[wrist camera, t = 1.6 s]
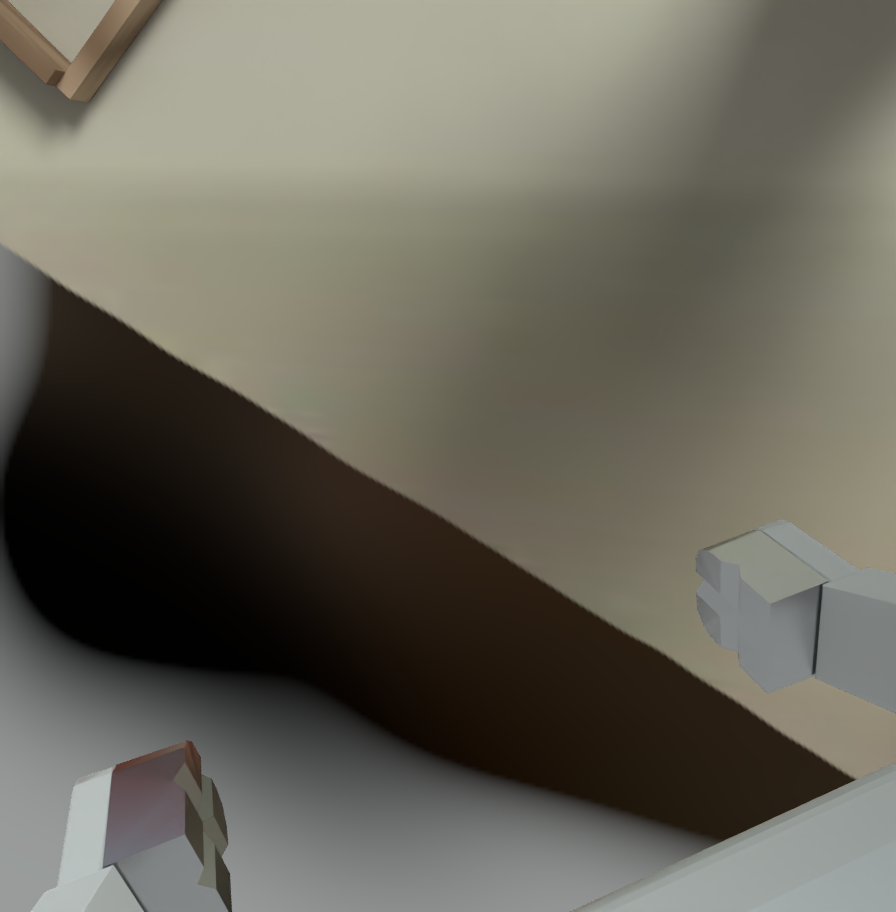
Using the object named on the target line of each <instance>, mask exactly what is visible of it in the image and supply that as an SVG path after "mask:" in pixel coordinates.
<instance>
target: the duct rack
mask: <svg viewBox="0 0 896 912" xmlns="http://www.w3.org/2000/svg"><path fill="white" fill-rule="evenodd" d="M161 1H162V0H115V2H114V3H113V5H112V6H111V8H110V9H109V10H108V12H107V13H106V15H105V16H104V18H103V19H102V20H101V22H100V23H99V25H98V26H97V28H96V29H95V30H94V32H93V33H92V35H91V36H90V38H89V39H88V41H87V42H86V43H85V45H84V46H83V48H82V49H81V51H80V52H79V53H78V55H77V56H76V58H75V59H74V61H73V62H72V63H70V62H69V61H68V60H67V59H66V58H65V57H64V56H63V55H62V54H61V53H60V52H59V51H58V50H57V49H56V48H55V47H54V46H53V45H52V44H51V43H50V42H49V41H48V40H47V39H46V38H45V37H44V36H43V35H42V34H41V33H40V32H39V31H38V30H37V29H36V28H35V27H34V26H33V25H32V24H31V23H30V22H29V21H28V20H27V19H26V18H25V17H24V16H23V15H22V14H21V13H20V12H19V11H18V10H17V9H16V8H14V7H13V6H12V5H11V4H10V3H9V2H8V1H7V0H0V40H1V41H2V42H3V43H4V44H5V45H6V46H7V47H8V48H9V49H10V50H11V51H12V52H13V53H14V54H15V55H16V56H17V57H18V58H19V59H20V60H21V61H23V62H24V63H25V64H26V65H27V66H28V67H29V68H30V69H31V70H32V71H33V72H34V73H35V74H36V75H37V76H38V77H39V78H40V79H41V80H42V81H43V82H44V83H45V84H48V85H54V86H56V87H57V88H58V89H59V90H61V91H62V92H63V93H64V94H65V95H66V96H67V97H68V98H69V99H70V100H76V101H82V102H89V101H90V99H91V98H92V97H93V95H94V94H95V92H96V91H97V90H98V88H99V87H100V85H101V84H102V83H103V81H104V80H105V78H106V77H107V76H108V74H109V73H110V72H111V70H112V69H113V67H114V66H115V65H116V63H117V62H118V60H119V59H120V58H121V56H122V55H123V54H124V52H125V51H126V49H127V48H128V47H129V45H130V44H131V42H132V41H133V40H134V38H135V37H136V36H137V34H138V33H139V31H140V30H141V29H142V27H143V26H144V24H145V23H146V22H147V20H148V19H149V17H150V16H151V15H152V13H153V12H154V11H155V9H156V8H157V6H158V5H159V4H160V2H161Z"/></svg>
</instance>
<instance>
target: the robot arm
mask: <svg viewBox="0 0 896 912" xmlns="http://www.w3.org/2000/svg"><path fill="white" fill-rule="evenodd" d="M696 572H697V573H698V574H699V575H700V576H701V577H702V578H703V579H704V580H703V582H702V584H701V585H700V587H699V589H698V591H697V592H696V597H697V610H698V612H699V615H700V618H701V620H702V623H703V625H704V627H705V628H706V630H707V632H708V633H709V635H710V636H711V637H712V638H713V639H714V640H715V642H716V643H717V644H718V645H719V646H720V647H722V648H725V649H728V650H731V651H734V652H737V653H738V657H739V666H740V667H741V668H742V669H743V670H744V671H745V672H746V673H747V674H748V675H749V676H750V677H751V678H752V679H753V680H754V681H755V682H756V683H757V684H758V685H759V686H760V687H761V688H762V689H763V690H764V691H765V692H766V693H767V694H769V693H771V692H774V691H777V690H779V689H782V688H784V687H787V686H790V685H792V684H795V683H797V682H800V681H802V680H805V679H808V678H810V677H813V676H815V679H818V680H820V681H822V682H824V683H827V684H829V685H831V686H834V687H836V688H838V689H841V690H843V691H845V692H848V693H850V694H852V695H855V696H857V697H859V698H861V699H864V700H866V701H868V702H871V703H873V704H875V705H878V706H880V707H882V708H885V709H887V710H889V711H892V712H894V713H896V574H895V573H891V572H886V571H882V570H877V569H873V568H868V567H867V568H864V569H862V570H858V569H857V568H855V567H854V566H852V565H851V564H850V563H848V562H847V561H845V560H844V559H842V558H841V557H839V556H838V555H837V554H835V553H834V552H832V551H831V550H829V549H828V548H826V547H825V546H824V545H822V544H821V543H819V542H818V541H816V540H815V539H813V538H812V537H811V536H809V535H808V534H806V533H805V532H803V531H802V530H800V529H799V528H798V527H796V526H795V525H793V524H792V523H790V522H788V521H785V520H781V519H779V520H777V521H774V522H771V523H769V524H766V525H764V526H761V527H759V528H756V529H753V530H752V531H750V532H746V533H744V534H741V535H739V536H736V537H733V538H731V539H728V540H725V541H723V542H720V543H718V544H715V545H712V546H710V547H707V548H704V549H702V550H699V552H698V554H697V557H696ZM227 846H228V837H227V825H226V821H225V816H224V810H223V806H222V803H221V800H220V797H219V794H218V791H217V789H216V787H215V785H214V783H213V780H212V779H211V778H209V777H207V776H204V775H202V774H201V757H200V755H199V753H198V751H197V749H196V748H195V746H194V744H193V742H192V741H188V740H187V741H184V742H181V743H178V744H175V745H172V746H169V747H166V748H164V749H160V750H157V751H155V752H152V753H149V754H146V755H143V756H140V757H137V758H134V759H132V760H129V761H126V762H123V763H120V764H117V765H116V766H114V767H111V768H108V769H105V770H103V771H99V772H96V773H93V774H90V775H87V776H85V777H81V778H79V779H78V781H77V783H76V784H75V786H74V788H73V790H72V796H71V802H70V809H69V815H68V822H67V827H66V833H65V840H64V846H63V852H62V858H61V864H60V871H59V877H58V883H57V887H56V888H53V889H51V890H48V891H46V892H45V893H44V894H43V895H42V897H41V898H40V900H39V901H38V902H37V904H36V905H35V906H34V908H33V909H32V911H31V912H232V901H231V885H230V884H231V883H230V873H229V871H228V869H227V867H226V865H225V864H224V861H223V859H222V855H223V853H224V851H225V849H226V848H227ZM570 912H896V762H895V763H892V764H890V765H888V766H886V767H884V768H882V769H879V770H877V771H875V772H873V773H871V774H868V775H866V776H864V777H862V778H860V779H858V780H855V781H853V782H851V783H849V784H847V785H844V786H842V787H840V788H838V789H836V790H834V791H831V792H829V793H827V794H825V795H823V796H821V797H819V798H816V799H814V800H812V801H810V802H808V803H805V804H803V805H801V806H799V807H797V808H795V809H793V810H790V811H788V812H786V813H784V814H782V815H779V816H777V817H775V818H773V819H771V820H769V821H766V822H764V823H762V824H760V825H758V826H756V827H753V828H751V829H749V830H747V831H745V832H742V833H740V834H738V835H736V836H734V837H732V838H729V839H727V840H725V841H723V842H721V843H719V844H716V845H714V846H712V847H710V848H708V849H706V850H704V851H701V852H699V853H697V854H695V855H693V856H690V857H688V858H686V859H684V860H682V861H680V862H677V863H675V864H673V865H671V866H669V867H667V868H665V869H662V870H660V871H658V872H656V873H653V874H651V875H649V876H647V877H645V878H642V879H640V880H638V881H636V882H634V883H632V884H629V885H627V886H625V887H623V888H621V889H619V890H616V891H614V892H612V893H610V894H608V895H605V896H603V897H601V898H599V899H596V900H594V901H592V902H590V903H588V904H586V905H583V906H581V907H579V908H577V909H575V910H573V911H570Z"/></svg>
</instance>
